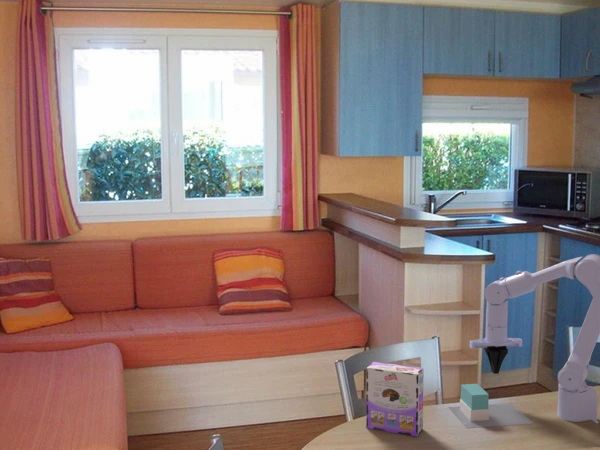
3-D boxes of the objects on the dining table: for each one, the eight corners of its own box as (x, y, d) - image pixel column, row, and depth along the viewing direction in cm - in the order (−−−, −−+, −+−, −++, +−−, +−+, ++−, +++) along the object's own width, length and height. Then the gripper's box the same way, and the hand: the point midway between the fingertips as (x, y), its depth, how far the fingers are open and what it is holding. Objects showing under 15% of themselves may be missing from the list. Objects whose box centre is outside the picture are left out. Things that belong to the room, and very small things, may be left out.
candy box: (423, 428, 190) (424, 367, 188) (417, 437, 185) (418, 374, 182) (372, 420, 196) (373, 360, 193) (365, 428, 190) (365, 366, 188)
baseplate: (510, 406, 204) (511, 392, 204) (533, 427, 190) (534, 412, 190) (448, 410, 202) (448, 396, 201) (466, 431, 188) (467, 416, 187)
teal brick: (476, 397, 200) (477, 383, 200) (488, 409, 192) (488, 394, 192) (460, 398, 200) (461, 384, 199) (471, 410, 192) (472, 395, 191)
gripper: (515, 319, 207) (513, 366, 209) (465, 321, 205) (464, 369, 207) (526, 326, 200) (524, 374, 202) (475, 328, 198) (474, 377, 200)
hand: (495, 372), depth 204 cm, fingers closed
